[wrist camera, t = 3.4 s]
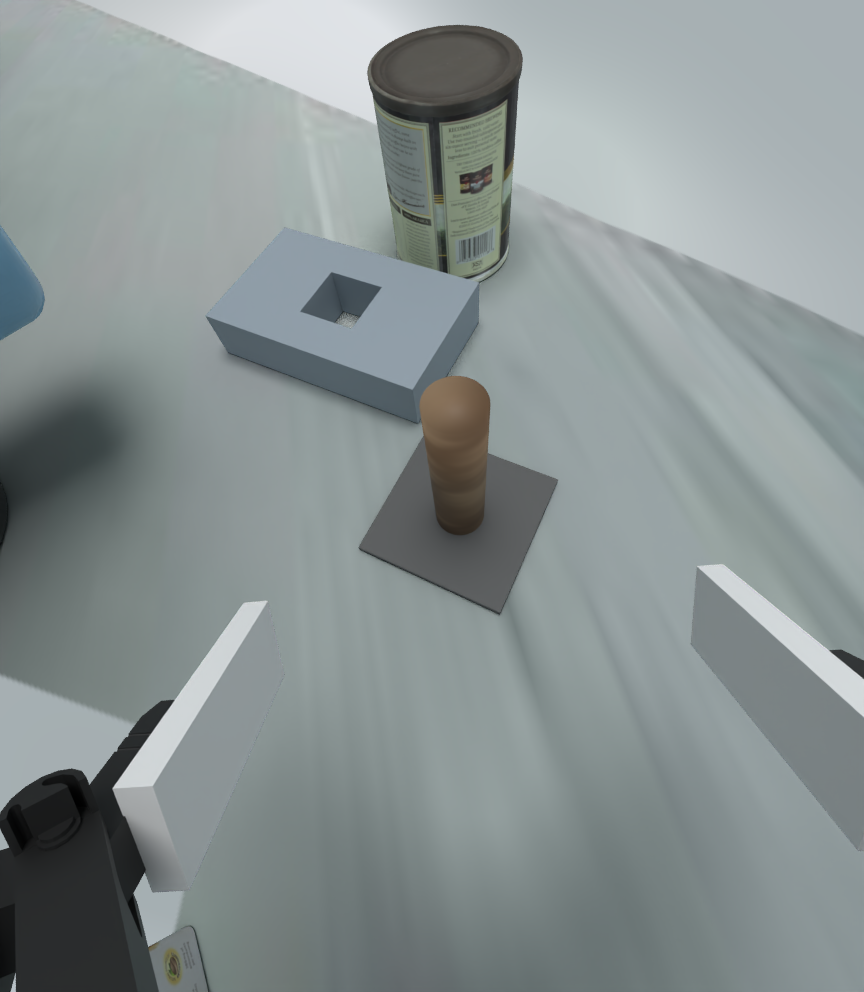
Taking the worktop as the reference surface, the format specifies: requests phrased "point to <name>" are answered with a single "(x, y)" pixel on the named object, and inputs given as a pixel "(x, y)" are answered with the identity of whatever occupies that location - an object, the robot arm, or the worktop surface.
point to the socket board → (356, 290)
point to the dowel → (457, 450)
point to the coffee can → (449, 144)
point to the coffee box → (178, 963)
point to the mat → (462, 558)
